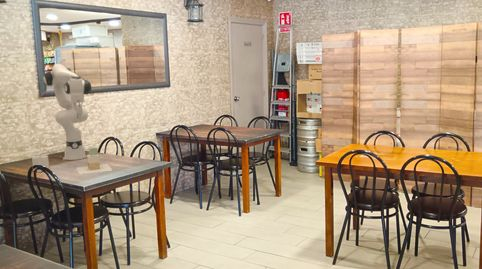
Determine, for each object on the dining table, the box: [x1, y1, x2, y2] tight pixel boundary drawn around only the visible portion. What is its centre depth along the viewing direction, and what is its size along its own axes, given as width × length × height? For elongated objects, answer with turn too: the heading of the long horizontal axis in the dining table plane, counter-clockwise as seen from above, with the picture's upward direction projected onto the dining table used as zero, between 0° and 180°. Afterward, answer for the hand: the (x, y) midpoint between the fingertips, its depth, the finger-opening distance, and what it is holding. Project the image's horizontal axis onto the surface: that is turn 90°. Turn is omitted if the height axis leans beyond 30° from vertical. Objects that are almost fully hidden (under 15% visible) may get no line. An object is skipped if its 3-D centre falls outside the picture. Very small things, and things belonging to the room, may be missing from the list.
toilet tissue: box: [31, 154, 50, 173], centre depth 338 cm, size 11×12×10 cm
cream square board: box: [75, 163, 113, 175], centre depth 336 cm, size 24×22×1 cm
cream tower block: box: [86, 154, 101, 164], centre depth 335 cm, size 7×7×5 cm
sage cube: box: [87, 146, 99, 156], centre depth 335 cm, size 5×5×5 cm
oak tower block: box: [87, 162, 100, 170], centre depth 336 cm, size 7×7×5 cm
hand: (79, 119), depth 339 cm, fingers open, 8 cm apart
